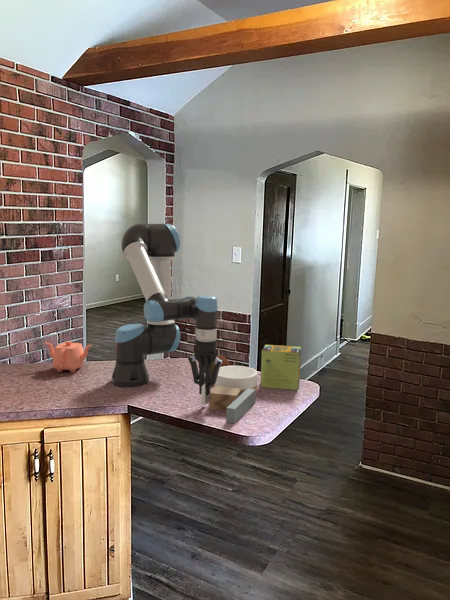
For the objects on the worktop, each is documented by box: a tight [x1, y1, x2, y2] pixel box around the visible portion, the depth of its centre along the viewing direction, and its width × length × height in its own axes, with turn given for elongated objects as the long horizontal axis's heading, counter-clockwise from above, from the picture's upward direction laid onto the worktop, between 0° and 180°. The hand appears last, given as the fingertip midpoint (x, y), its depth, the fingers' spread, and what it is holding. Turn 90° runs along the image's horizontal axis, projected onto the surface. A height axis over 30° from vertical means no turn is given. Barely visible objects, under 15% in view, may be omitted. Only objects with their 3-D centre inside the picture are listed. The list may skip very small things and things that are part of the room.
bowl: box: [212, 365, 258, 395], centre depth 203 cm, size 17×17×8 cm
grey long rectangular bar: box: [225, 388, 257, 424], centre depth 182 cm, size 3×22×5 cm, turn 159°
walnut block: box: [208, 386, 242, 412], centre depth 187 cm, size 10×8×6 cm
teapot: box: [44, 340, 93, 373], centre depth 228 cm, size 15×17×13 cm
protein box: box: [260, 344, 302, 391], centre depth 212 cm, size 10×15×16 cm
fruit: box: [205, 355, 231, 378], centre depth 220 cm, size 12×13×10 cm
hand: (204, 403), depth 186 cm, fingers closed
